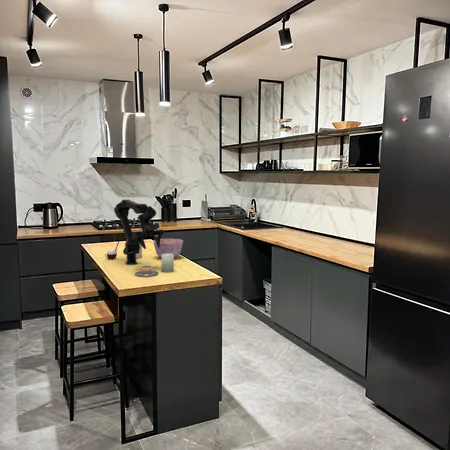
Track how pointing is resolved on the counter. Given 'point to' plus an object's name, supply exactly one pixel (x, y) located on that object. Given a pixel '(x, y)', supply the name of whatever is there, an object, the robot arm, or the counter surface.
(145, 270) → the cup on gray saucer
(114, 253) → the cocoa
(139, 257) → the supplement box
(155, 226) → the robot arm
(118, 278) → the counter surface
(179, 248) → the bowl of food
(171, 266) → the white cylinder
